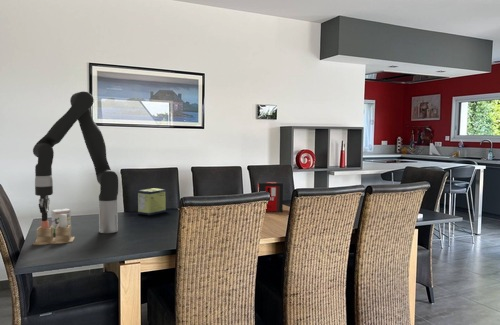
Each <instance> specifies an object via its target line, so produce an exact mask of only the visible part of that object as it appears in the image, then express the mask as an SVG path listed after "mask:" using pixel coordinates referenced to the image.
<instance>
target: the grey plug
mask: <svg viewBox="0 0 500 325" xmlns="http://www.w3.org/2000/svg"><path fill="white" fill-rule="evenodd" d="M59 224H60V228H67V214H60V215H59Z"/></svg>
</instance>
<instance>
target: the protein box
mask: <svg viewBox="0 0 500 325" xmlns="http://www.w3.org/2000/svg"><path fill="white" fill-rule="evenodd" d="M166 201H167V199H166V189H164V188H158V187H153V188H146V189H140V190H137V206H138V207H137V209H138V210H137V213H138V214H139V215H146V216H153V215H157V214H161V213H166V212H167V211H166ZM138 214H137V215H138Z"/></svg>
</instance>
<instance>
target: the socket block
mask: <svg viewBox="0 0 500 325" xmlns="http://www.w3.org/2000/svg"><path fill="white" fill-rule="evenodd" d="M54 235H55V237H54ZM75 239H76V237H75V236H72V224H71V225H67V228H60V226H57V227H56V228H55V233H53V226H52V225H49V228H48V229H41V226H38V228H37V229H36V240H35V241H34V242H33V243H32V246H39V245H40V246H42V245H54V244H55V245H57V244H73V242H74V240H75Z"/></svg>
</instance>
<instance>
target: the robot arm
mask: <svg viewBox="0 0 500 325" xmlns="http://www.w3.org/2000/svg"><path fill="white" fill-rule="evenodd" d="M94 100H95V99H94V96H93V95H92V94H91V93H90V92H89V91H77V92H75V93H74V94H72V95H71V97H70V101H69V102H70V108H68V110H67V111H66V112H65V113H64V114H63V115H62V116H61V117H60V118H59V119H58V120H57V121H56V122H54V124H53V125H52V126H51V127H50V128H49V130H48V131H47V133H46V134H44V136H42V137H41V138H40V139H39V140H38V141H37V142H36V143H35V145H34V146H33V148H32V153H33V155H34V156H35V157H37V163H36V164H35V166H34V167H35V169H34V170H35V172H34V173H35V176H34V177H35V178H34V194H35V196H39V199H38V209H39V212H40V213H41V221H47V220H49V219H48V216H49V215H48V213H49V210H50V204H51V203H50V202H51V200H50V199H51V198H49V196H52V195H53V194H54V186H53V185H54V183H53V171H52V170H53V168H52V165H53V162H54V157H55V156H54V155H55V153H54V148H53V147H54V146H55V145H57V144H59V143H60V142H61V141H62V140H63V139H64V138H65V136H66V135H67V133H68V132H69V131H70V130H71V128H72V127H73V126H74V125H75V124H76V122H77V121H78V124H79V127H80V131H81V133H82V137H83V140H84V143H85V146H86V149H87V151H88V153H89V157H90V159H91V161H92V163H93V167H94V171H95V177H96V180H97V183H98V184H99V185H100V186H99V187H100V188H99V189H100V190H99V192H100V193H99V194H98V230H99V234H100V233H101V234H113V233H117V232H119V231H118V230H119V227H118V226H119V225H118V224H119V222H118V220H119V219H118V215H119V214H118V195H119V177H118V174H117V173H116V172H115V171H114V170H111V167H110V165H109V162H108V159H107V146H106V142H105V139H104V136H103V133H102V131H101V129H100V128H99V126H98V125H97V123H96V122H95V120H94V119H93V117H92V114H91V110H90V109H91V108H92V107H93V105H94Z"/></svg>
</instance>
